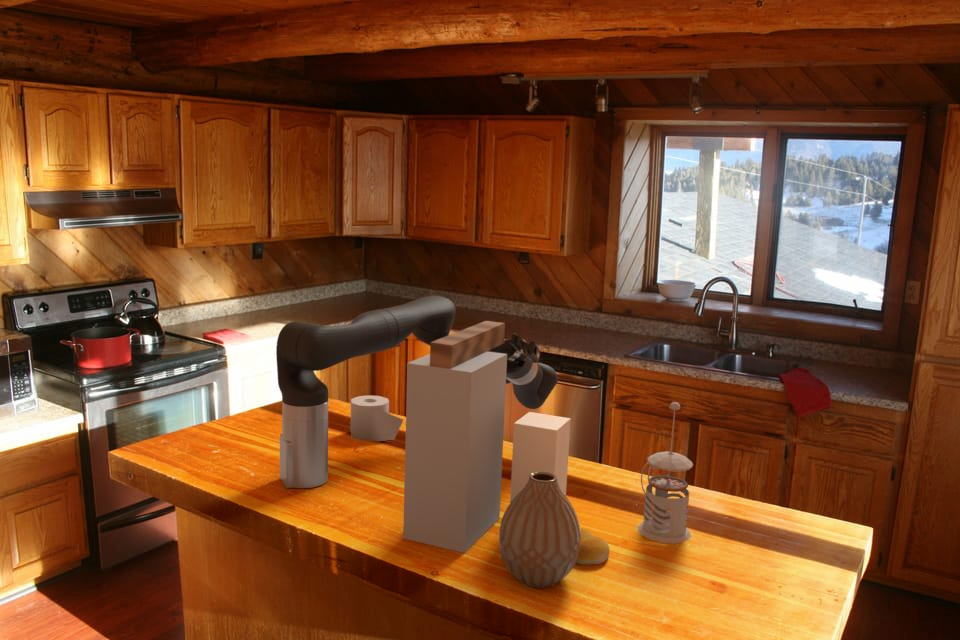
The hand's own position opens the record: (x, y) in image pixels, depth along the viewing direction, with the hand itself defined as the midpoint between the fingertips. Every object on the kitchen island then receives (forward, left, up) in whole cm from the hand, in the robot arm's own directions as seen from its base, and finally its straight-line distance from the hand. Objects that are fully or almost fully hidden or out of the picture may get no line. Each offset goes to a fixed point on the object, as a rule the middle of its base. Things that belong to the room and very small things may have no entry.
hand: (492, 335), depth 156 cm
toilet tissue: (-7, +46, -34) cm, 57 cm away
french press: (+25, -24, -34) cm, 48 cm away
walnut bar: (-8, -6, -2) cm, 10 cm away
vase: (-6, -31, -34) cm, 46 cm away
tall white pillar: (-11, -9, -34) cm, 37 cm away
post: (+3, -15, -34) cm, 37 cm away
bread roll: (+6, -26, -34) cm, 44 cm away
